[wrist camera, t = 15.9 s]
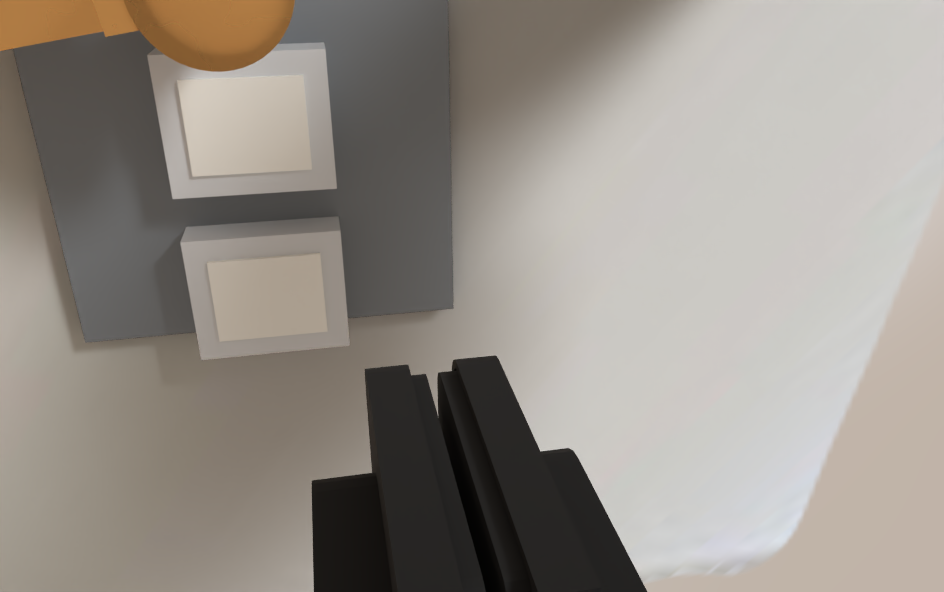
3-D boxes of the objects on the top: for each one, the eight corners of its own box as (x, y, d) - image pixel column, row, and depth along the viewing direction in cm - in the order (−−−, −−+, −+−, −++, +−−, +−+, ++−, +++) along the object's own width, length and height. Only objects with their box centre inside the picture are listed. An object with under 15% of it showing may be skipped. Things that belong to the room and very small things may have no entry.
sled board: (442, -73, 34) (483, -71, 27) (450, 308, 42) (482, 392, 35) (-7, -70, 31) (-106, -67, 24) (92, 341, 39) (43, 442, 32)
